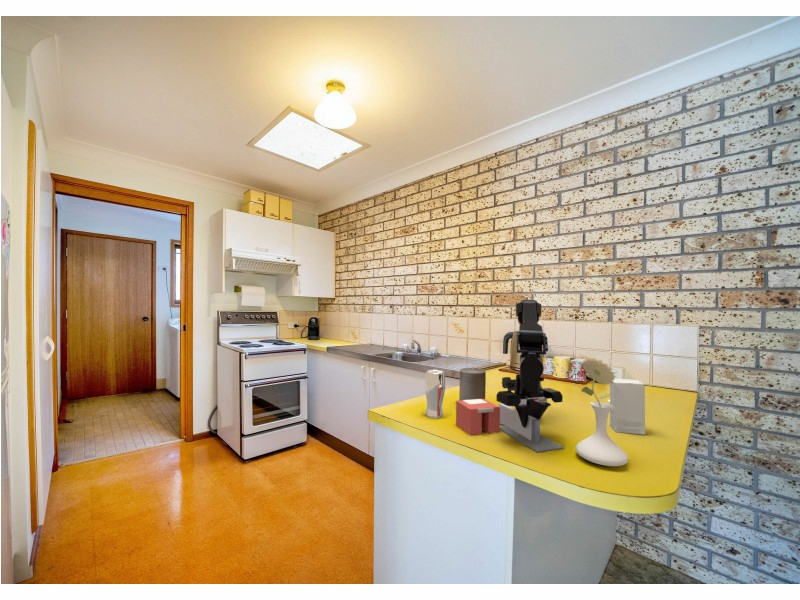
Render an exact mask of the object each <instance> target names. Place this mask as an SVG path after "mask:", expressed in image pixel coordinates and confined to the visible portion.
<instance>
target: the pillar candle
mask: <svg viewBox="0 0 800 600" xmlns="http://www.w3.org/2000/svg"><path fill="white" fill-rule="evenodd" d="M486 375H487V374H486V370H485V369H484V368H483V369H482V368H478V367H474V366H472V367H463V368H459V400H458V401H461V400H473V399H485V400H486V384H487V382H486V381H487V380H486V378H487V376H486Z"/></svg>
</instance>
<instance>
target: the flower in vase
mask: <svg viewBox="0 0 800 600" xmlns="http://www.w3.org/2000/svg"><path fill="white" fill-rule="evenodd" d="M582 365H583V366H582V369H583V370H584V371H585V373H586V374H587V376H588V377H589V378H590V379H592V383H591V384H592V385H591V388H590V387H588V386H583V388H581V390H580V392H583V393H584V394H587V395H588V396H593V395H594V397H595V399H596V400H597V401H591V402H590V405H591V408H592V409H593V410H594V411H593V412H594V414H595V415H594V416H595V420H596V421H595V423H596V424H595V425H596V426H595V432H594V433H593V434H592V435H590V436H588V437H586V438H584V439H582V440H581V441H579V442H578V443H577V444H576V446H575V448H574V449H575V452H576V453H577V454H578V455H579V456H580V457H581V458H583V459H585V460H587V461H588V462H591V463H594V464H597V465H601V466H606V467H621V466H625V465H626V464H627V463H628V462H629V456H628V454H627V453H626V451H624V450H623V448H621V446H619V445H618V444H617V443H616V442H615V441H614V440H613V439H611V438H610V436H609V434H608V431H607V427H608V426H607V424H608V417H609V415H610V410H611V409H612V408H613V406H612V405H610V403H607V402H606V403H605V402H601V401H600V400H601V399H605V398H607V397H610V395H611V394H612V393H611V394H610V393H608V394H607V393H606V394H603V395H601V396H599V397H598V396H597V394H596V392H595V390H594V386H595V381H596V382H597V383H598V384H601V385H606V384H607V385H610V383H614V382H613V381H612V380H614V379H615V378H616V376H615V372H614V371H612V370H613V368H612V366H609V365H608V364H607V363H605V362H603V360H602V359H596V358H595V357H593V358H592V357H590V358H589V359H586V358H585V360H583V363H582Z"/></svg>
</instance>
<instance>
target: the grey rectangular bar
mask: <svg viewBox="0 0 800 600" xmlns="http://www.w3.org/2000/svg"><path fill="white" fill-rule="evenodd" d="M498 403H499V404H498V406H499V407H500V424H501V425H502V426H506V427H508V428H510V429H512V430H513V431H515V432H517V433H519V434H520V435H522V436H524V437H526V438H527V439H529V440H531V441H533V442H534V443H538V442H540V435H541V419H540V420H538V419H536V418H534V417H532V416H528V422H527V426H526V428H524V427H523V426H522V424H521V421H520V418H519V415H518V412H517V410H516V408H515V407H514V406H506V405H504V404H502V403H500V402H498Z"/></svg>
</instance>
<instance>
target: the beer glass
mask: <svg viewBox="0 0 800 600" xmlns="http://www.w3.org/2000/svg"><path fill="white" fill-rule="evenodd" d="M424 389H425V398H426V399H425V400H426V409H425V410H426V411H425V416H426V417H428V418H430V419H440V418H443V417H444V410H443V402H444V397H445V392H446V371H444V370H442V369H441V370H440V369H428V370H425V376H424Z"/></svg>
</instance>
